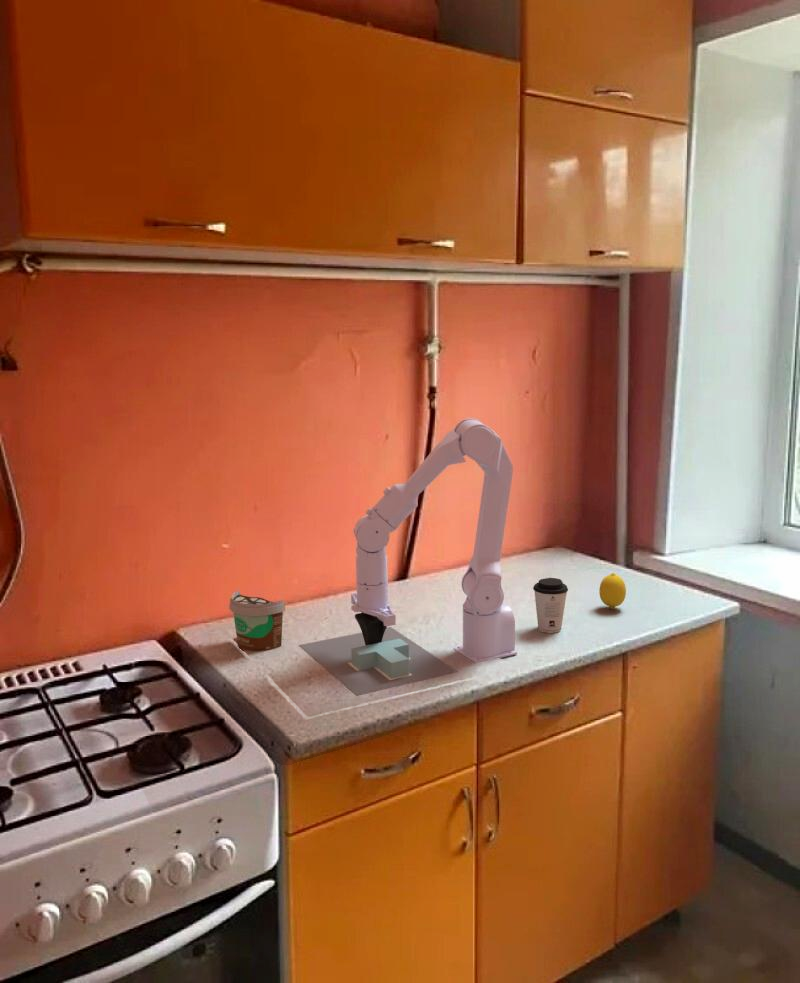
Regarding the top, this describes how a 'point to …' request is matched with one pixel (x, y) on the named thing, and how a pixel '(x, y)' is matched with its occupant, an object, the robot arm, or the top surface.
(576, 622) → the top surface
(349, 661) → the mat
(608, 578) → the lemon
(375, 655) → the t block
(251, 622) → the food container
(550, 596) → the coffee cup
